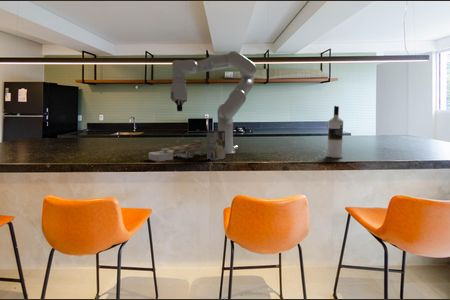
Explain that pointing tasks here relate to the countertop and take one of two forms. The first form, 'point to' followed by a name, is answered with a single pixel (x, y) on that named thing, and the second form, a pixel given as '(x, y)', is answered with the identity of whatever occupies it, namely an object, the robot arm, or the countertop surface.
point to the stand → (186, 154)
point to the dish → (160, 156)
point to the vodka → (335, 135)
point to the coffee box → (215, 145)
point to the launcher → (184, 147)
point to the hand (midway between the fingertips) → (179, 111)
